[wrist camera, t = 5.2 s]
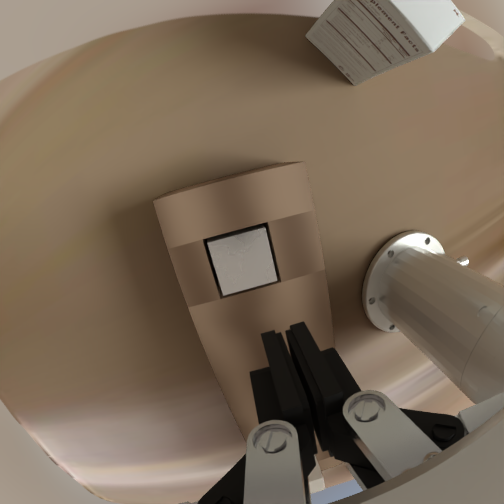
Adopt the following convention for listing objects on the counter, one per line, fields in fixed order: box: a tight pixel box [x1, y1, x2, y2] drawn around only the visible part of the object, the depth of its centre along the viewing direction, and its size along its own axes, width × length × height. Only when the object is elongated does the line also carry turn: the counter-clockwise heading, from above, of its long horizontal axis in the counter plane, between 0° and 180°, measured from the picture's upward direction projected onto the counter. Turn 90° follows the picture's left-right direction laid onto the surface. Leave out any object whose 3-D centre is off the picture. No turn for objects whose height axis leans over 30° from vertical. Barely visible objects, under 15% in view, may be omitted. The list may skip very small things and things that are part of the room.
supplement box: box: [305, 0, 465, 86], centre depth 17 cm, size 7×7×13 cm
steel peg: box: [207, 223, 277, 296], centre depth 24 cm, size 4×4×6 cm
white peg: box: [308, 455, 325, 494], centre depth 28 cm, size 4×4×6 cm
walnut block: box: [153, 162, 342, 471], centre depth 28 cm, size 11×40×6 cm, turn 14°
